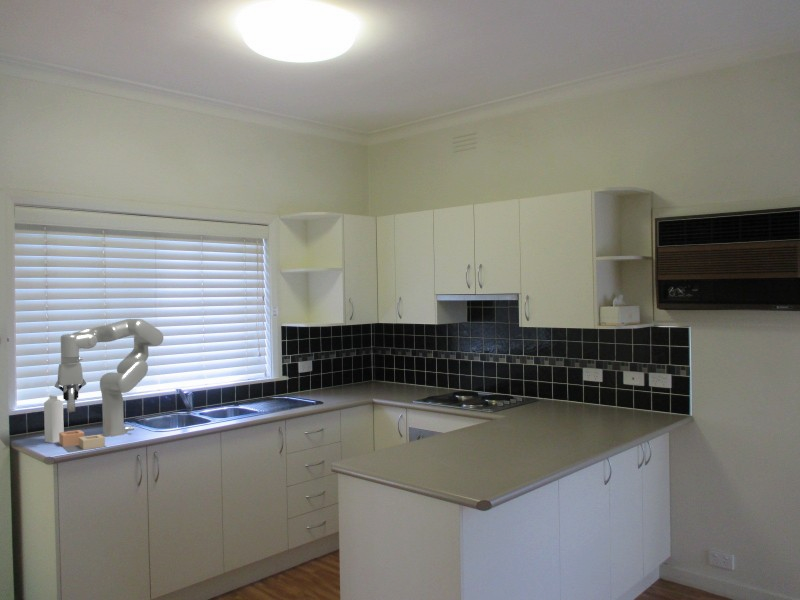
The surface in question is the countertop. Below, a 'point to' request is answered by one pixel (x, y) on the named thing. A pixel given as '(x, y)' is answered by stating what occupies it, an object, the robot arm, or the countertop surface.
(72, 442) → the board
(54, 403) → the milk
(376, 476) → the countertop surface
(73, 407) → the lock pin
